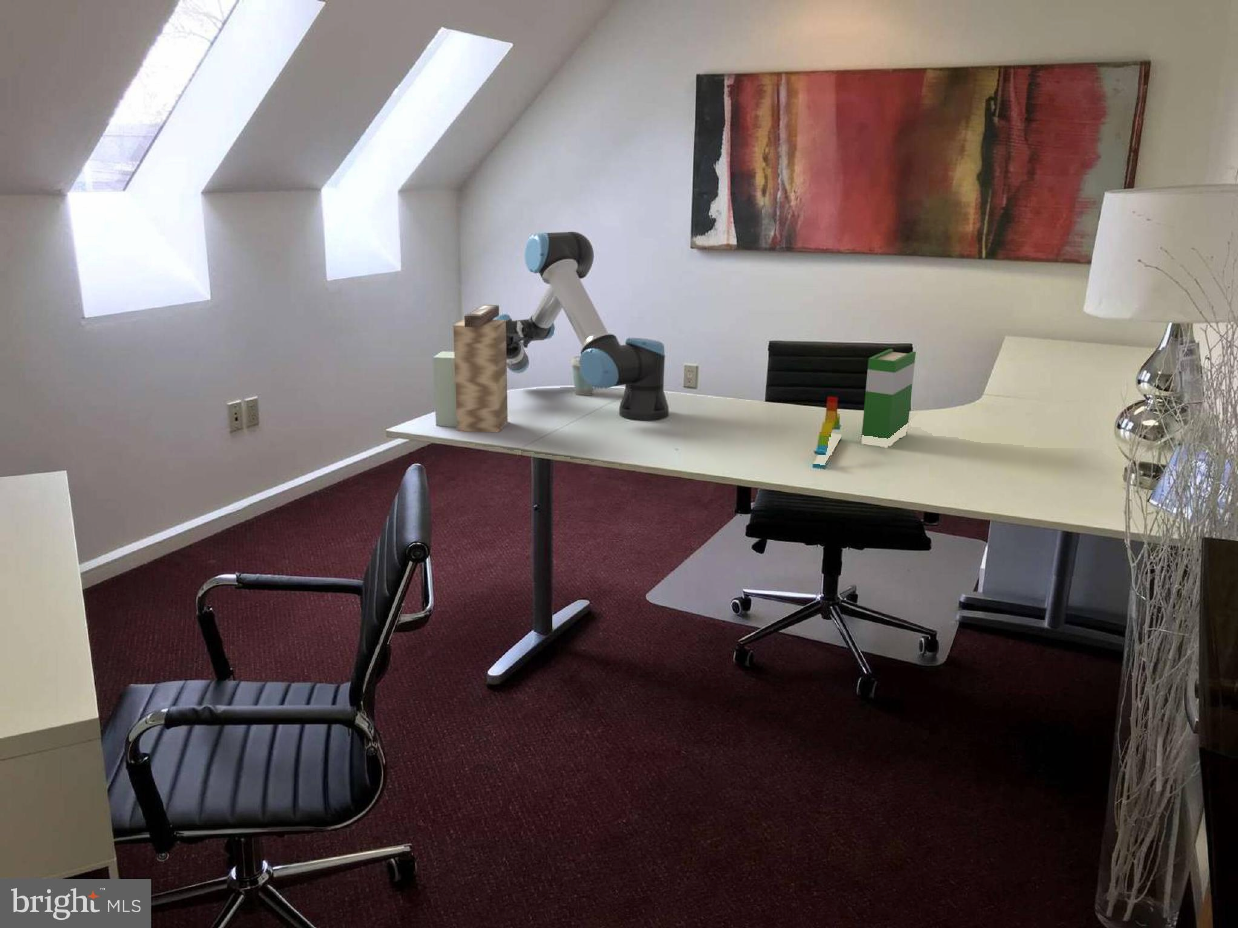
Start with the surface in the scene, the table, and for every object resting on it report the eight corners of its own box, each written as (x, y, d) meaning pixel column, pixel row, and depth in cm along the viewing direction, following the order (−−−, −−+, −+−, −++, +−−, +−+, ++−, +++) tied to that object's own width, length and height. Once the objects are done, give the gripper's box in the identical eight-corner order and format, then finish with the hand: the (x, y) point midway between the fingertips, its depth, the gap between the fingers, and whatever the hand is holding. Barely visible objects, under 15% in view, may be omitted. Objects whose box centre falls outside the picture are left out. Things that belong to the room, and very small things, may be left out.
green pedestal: (467, 418, 286) (465, 352, 280) (459, 426, 278) (457, 358, 272) (444, 417, 287) (441, 351, 281) (435, 425, 278) (432, 357, 273)
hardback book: (881, 430, 280) (889, 348, 273) (907, 434, 276) (915, 351, 269) (860, 444, 266) (868, 358, 259) (887, 448, 262) (895, 361, 255)
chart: (825, 470, 244) (829, 412, 239) (812, 468, 245) (816, 411, 240) (841, 440, 271) (846, 387, 266) (830, 438, 272) (834, 386, 267)
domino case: (499, 315, 283) (498, 304, 282) (480, 327, 262) (480, 315, 261) (484, 315, 283) (483, 304, 282) (464, 326, 262) (464, 315, 261)
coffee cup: (593, 397, 315) (593, 361, 312) (568, 395, 317) (568, 359, 313) (599, 391, 323) (599, 356, 320) (574, 390, 325) (574, 355, 321)
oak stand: (507, 421, 284) (505, 320, 275) (498, 432, 272) (496, 326, 263) (467, 420, 285) (464, 318, 276) (457, 430, 273) (453, 325, 265)
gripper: (547, 361, 308) (535, 337, 288) (471, 358, 311) (454, 335, 290) (549, 338, 310) (537, 314, 289) (473, 336, 312) (456, 311, 292)
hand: (496, 324), depth 290 cm, fingers open, 13 cm apart
